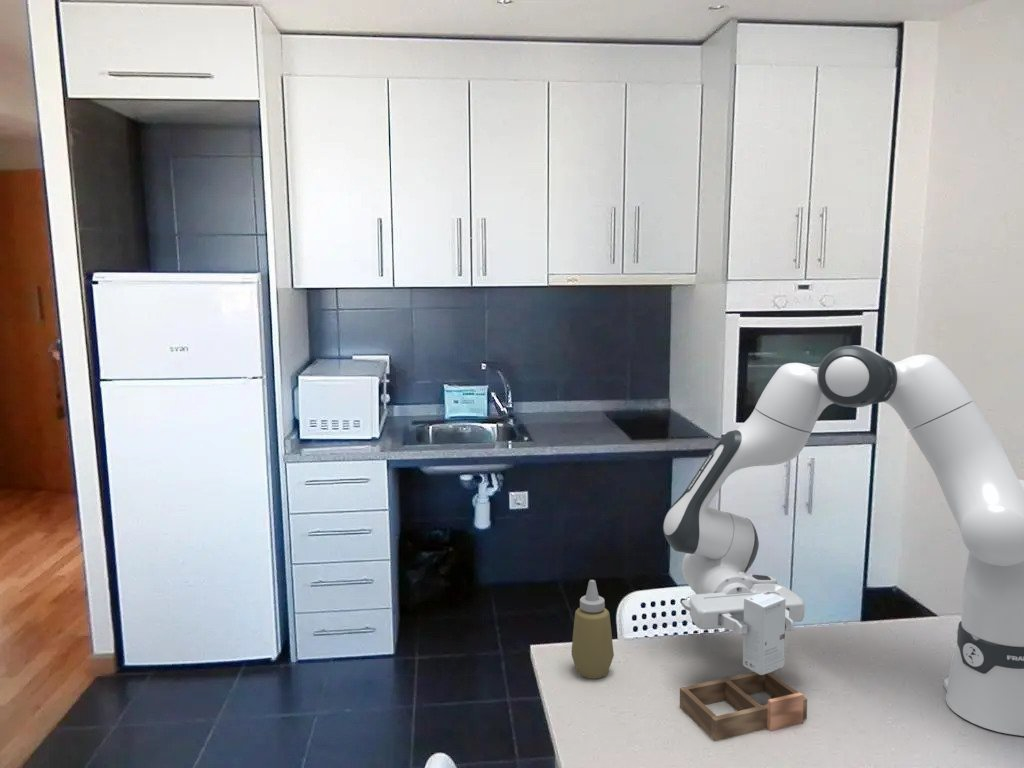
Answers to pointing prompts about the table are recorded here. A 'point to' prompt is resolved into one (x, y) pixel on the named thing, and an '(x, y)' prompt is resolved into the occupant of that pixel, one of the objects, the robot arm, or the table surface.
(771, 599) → the skincare box
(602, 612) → the squeeze bottle
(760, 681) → the wooden compartment holder
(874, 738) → the table surface
